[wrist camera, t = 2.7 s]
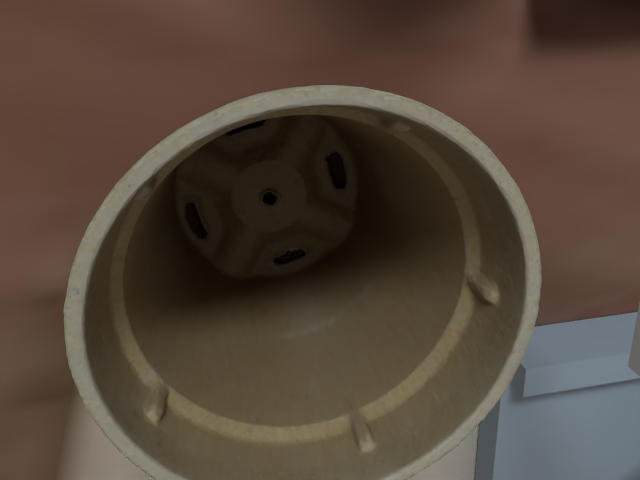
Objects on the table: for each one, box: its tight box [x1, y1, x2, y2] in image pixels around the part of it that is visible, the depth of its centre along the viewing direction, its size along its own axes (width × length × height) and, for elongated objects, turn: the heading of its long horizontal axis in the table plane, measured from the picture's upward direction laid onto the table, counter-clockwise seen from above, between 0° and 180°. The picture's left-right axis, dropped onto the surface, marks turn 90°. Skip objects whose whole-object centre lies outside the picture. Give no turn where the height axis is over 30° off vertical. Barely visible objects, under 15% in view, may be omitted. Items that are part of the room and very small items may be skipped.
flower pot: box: [63, 85, 541, 480], centre depth 16 cm, size 9×9×9 cm
